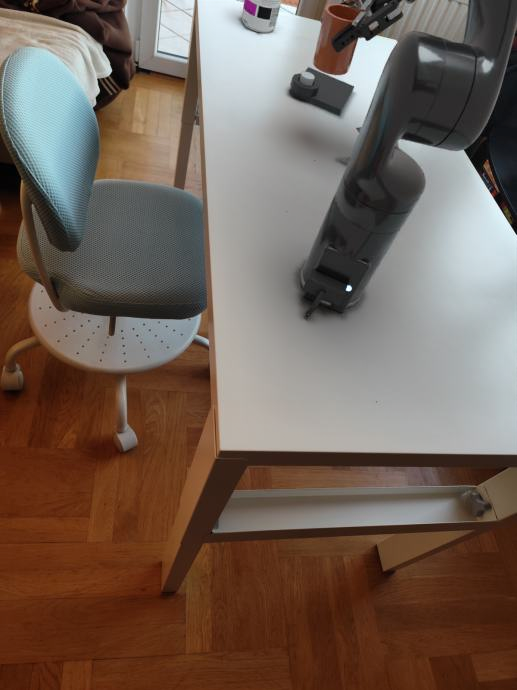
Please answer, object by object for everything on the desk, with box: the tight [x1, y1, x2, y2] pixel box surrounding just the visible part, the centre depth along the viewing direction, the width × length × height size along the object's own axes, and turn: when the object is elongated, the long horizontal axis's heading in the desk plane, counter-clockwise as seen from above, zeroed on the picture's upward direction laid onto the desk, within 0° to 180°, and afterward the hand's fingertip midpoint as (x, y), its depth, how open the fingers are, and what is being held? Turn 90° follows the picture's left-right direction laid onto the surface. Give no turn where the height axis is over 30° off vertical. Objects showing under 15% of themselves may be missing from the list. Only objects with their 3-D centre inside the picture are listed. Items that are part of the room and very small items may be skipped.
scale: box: [289, 66, 355, 117], centre depth 102 cm, size 13×12×3 cm
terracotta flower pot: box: [312, 3, 365, 76], centre depth 78 cm, size 6×6×8 cm
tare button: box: [299, 71, 315, 86], centre depth 98 cm, size 3×3×2 cm
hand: (328, 36), depth 78 cm, fingers closed on terracotta flower pot, 6 cm apart
